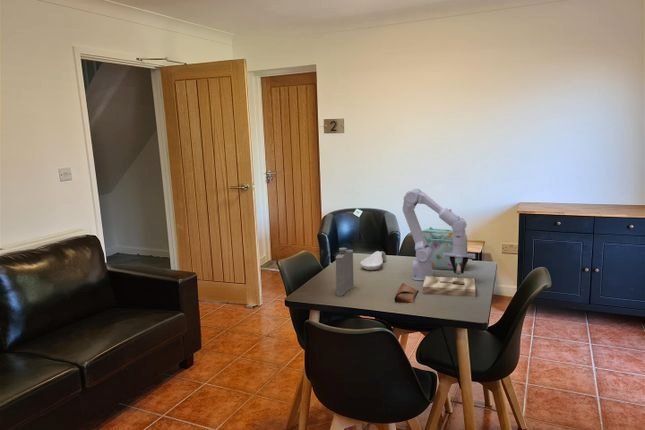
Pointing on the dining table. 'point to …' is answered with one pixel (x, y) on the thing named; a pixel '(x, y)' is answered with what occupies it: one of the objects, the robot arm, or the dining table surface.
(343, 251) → the hip flask
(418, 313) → the dining table surface
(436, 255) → the lunch box
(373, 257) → the spoon rest
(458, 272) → the peg
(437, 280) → the keyhole plate
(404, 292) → the sunglasses case
